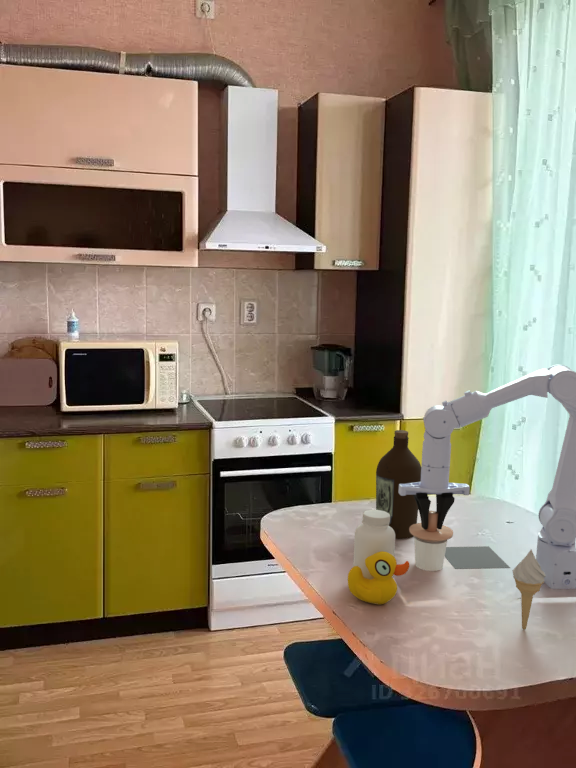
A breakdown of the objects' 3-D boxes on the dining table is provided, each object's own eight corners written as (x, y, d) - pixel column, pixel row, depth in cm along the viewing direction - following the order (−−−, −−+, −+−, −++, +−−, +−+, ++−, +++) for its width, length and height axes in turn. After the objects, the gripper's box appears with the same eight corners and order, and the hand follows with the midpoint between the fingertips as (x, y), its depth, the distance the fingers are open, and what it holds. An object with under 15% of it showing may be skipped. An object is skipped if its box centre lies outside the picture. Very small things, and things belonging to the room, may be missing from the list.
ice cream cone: (501, 628, 133) (508, 548, 131) (517, 619, 137) (524, 540, 134) (530, 640, 129) (538, 557, 127) (546, 630, 133) (554, 549, 131)
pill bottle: (395, 581, 152) (399, 509, 149) (389, 597, 144) (393, 522, 142) (356, 575, 154) (359, 505, 151) (348, 591, 146) (352, 517, 144)
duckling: (408, 600, 143) (411, 550, 141) (405, 613, 138) (408, 561, 136) (349, 592, 146) (352, 543, 144) (344, 604, 141) (346, 553, 139)
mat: (510, 571, 158) (510, 567, 158) (454, 572, 157) (455, 568, 157) (488, 549, 170) (488, 546, 170) (437, 550, 169) (437, 547, 169)
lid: (459, 540, 153) (460, 519, 153) (416, 541, 152) (417, 520, 151) (444, 525, 162) (445, 505, 161) (404, 525, 161) (405, 505, 160)
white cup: (443, 563, 161) (445, 532, 160) (447, 576, 155) (449, 544, 154) (411, 561, 162) (413, 530, 161) (413, 574, 155) (415, 542, 154)
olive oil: (401, 524, 185) (407, 425, 181) (427, 539, 175) (434, 434, 171) (364, 530, 180) (369, 428, 176) (389, 545, 171) (395, 438, 167)
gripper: (463, 459, 160) (458, 520, 162) (396, 459, 158) (392, 521, 160) (475, 468, 153) (470, 532, 155) (405, 468, 151) (401, 533, 153)
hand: (431, 527), depth 157 cm, fingers closed on lid, 2 cm apart
